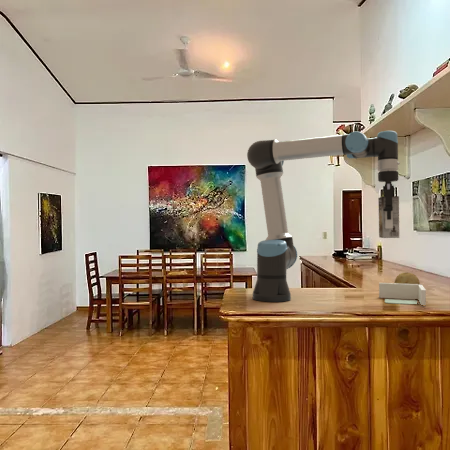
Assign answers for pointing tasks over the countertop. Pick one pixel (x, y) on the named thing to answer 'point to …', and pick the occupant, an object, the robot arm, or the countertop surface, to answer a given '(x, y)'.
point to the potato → (407, 279)
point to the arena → (403, 291)
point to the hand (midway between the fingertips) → (389, 228)
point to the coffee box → (395, 230)
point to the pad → (400, 301)
